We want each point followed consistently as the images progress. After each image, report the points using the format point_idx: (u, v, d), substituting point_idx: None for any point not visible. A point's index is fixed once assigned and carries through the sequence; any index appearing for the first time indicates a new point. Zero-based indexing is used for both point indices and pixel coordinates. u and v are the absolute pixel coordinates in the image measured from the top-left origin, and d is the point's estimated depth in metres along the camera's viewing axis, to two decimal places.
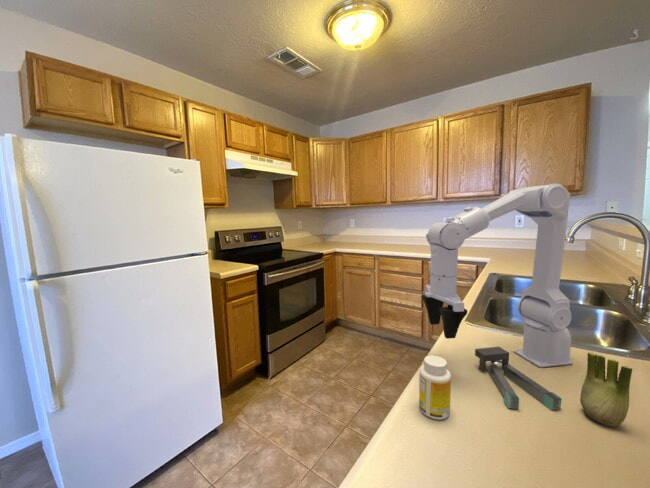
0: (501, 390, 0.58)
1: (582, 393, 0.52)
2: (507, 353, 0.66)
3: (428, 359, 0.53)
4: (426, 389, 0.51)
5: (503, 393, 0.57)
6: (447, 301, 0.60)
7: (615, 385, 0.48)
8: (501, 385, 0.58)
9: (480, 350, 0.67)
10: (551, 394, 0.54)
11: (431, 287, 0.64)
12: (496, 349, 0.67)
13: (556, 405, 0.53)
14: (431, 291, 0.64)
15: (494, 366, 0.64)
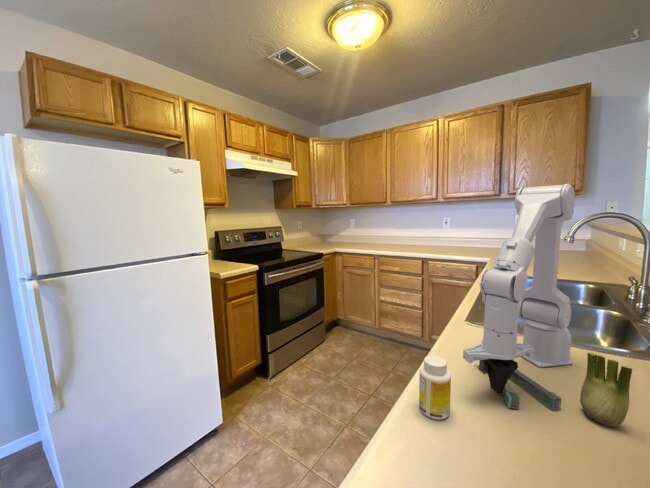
0: None
1: (582, 393, 0.52)
2: None
3: (428, 359, 0.53)
4: (426, 389, 0.51)
5: (503, 393, 0.57)
6: None
7: (615, 385, 0.48)
8: None
9: None
10: (551, 394, 0.54)
11: None
12: None
13: (556, 405, 0.53)
14: None
15: None
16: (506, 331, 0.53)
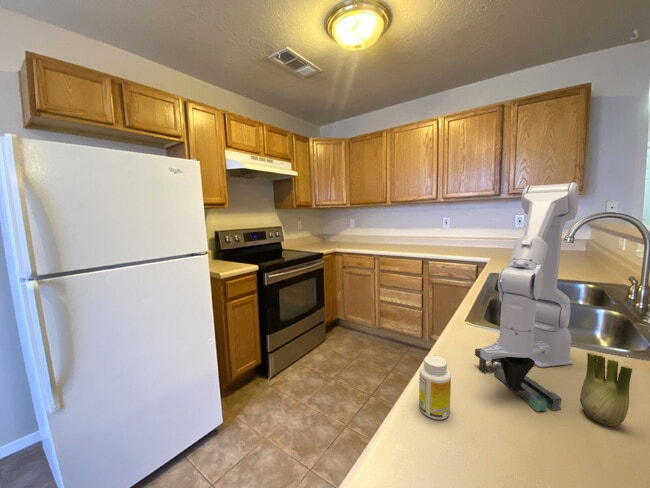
0: (519, 392, 0.57)
1: (582, 393, 0.52)
2: None
3: (428, 359, 0.53)
4: (426, 389, 0.51)
5: (524, 396, 0.56)
6: None
7: (615, 385, 0.48)
8: None
9: (480, 350, 0.67)
10: (551, 394, 0.54)
11: None
12: None
13: (556, 405, 0.53)
14: None
15: (499, 367, 0.63)
16: (525, 329, 0.53)
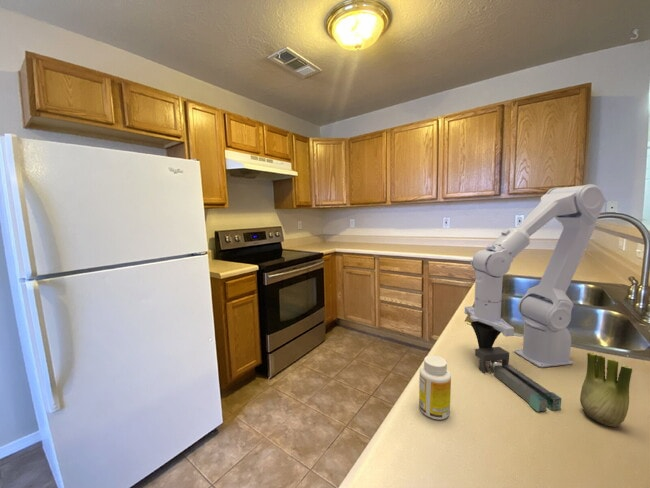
0: (519, 392, 0.57)
1: (582, 393, 0.52)
2: (507, 353, 0.66)
3: (428, 359, 0.53)
4: (426, 389, 0.51)
5: (524, 396, 0.56)
6: (496, 326, 0.63)
7: (615, 385, 0.48)
8: (519, 387, 0.57)
9: (480, 350, 0.67)
10: (551, 394, 0.54)
11: (476, 311, 0.68)
12: (496, 349, 0.67)
13: (556, 405, 0.53)
14: (476, 315, 0.68)
15: (499, 367, 0.63)
16: (485, 299, 0.66)
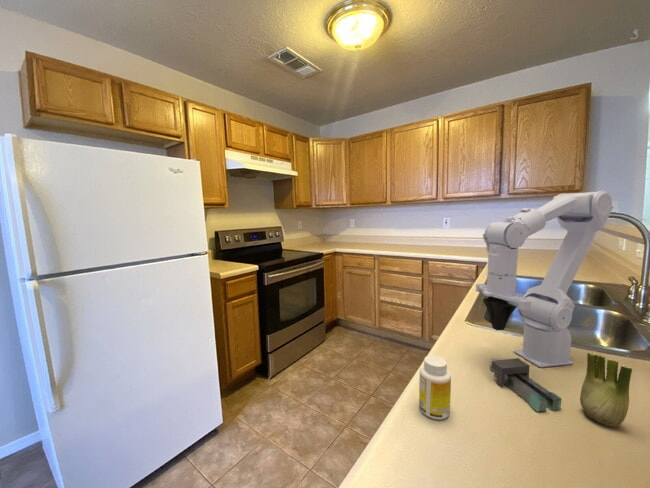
0: (519, 392, 0.57)
1: (582, 393, 0.52)
2: (527, 366, 0.60)
3: (428, 359, 0.53)
4: (426, 389, 0.51)
5: (524, 396, 0.56)
6: (511, 300, 0.60)
7: (615, 385, 0.48)
8: (519, 387, 0.57)
9: (497, 362, 0.62)
10: (551, 394, 0.54)
11: (490, 286, 0.64)
12: (515, 361, 0.62)
13: (556, 405, 0.53)
14: (490, 290, 0.65)
15: None
16: (502, 273, 0.62)
